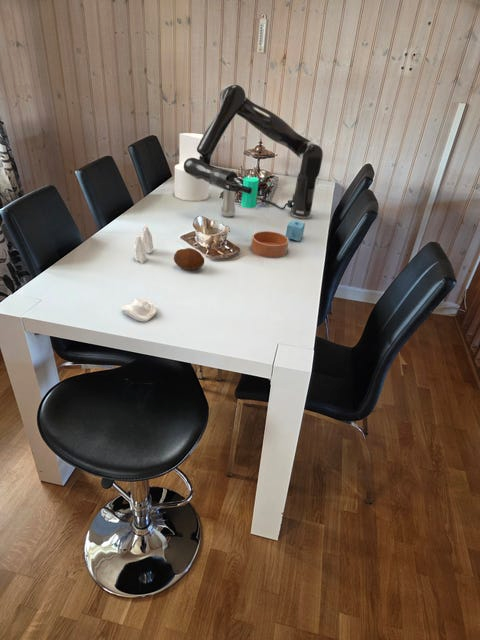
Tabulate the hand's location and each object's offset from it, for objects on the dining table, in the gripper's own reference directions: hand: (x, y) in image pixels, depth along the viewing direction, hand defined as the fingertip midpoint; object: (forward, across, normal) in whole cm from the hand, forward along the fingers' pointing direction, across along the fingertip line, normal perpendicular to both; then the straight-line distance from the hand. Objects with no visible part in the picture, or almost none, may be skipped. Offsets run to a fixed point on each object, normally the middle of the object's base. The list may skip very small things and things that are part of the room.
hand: (255, 189), depth 166 cm
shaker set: (-15, -42, +22) cm, 49 cm away
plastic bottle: (-26, +15, +22) cm, 37 cm away
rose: (+15, -66, +21) cm, 71 cm away
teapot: (+9, +17, +22) cm, 29 cm away
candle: (-3, 0, +7) cm, 8 cm away
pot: (+10, 0, +21) cm, 24 cm away
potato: (+2, -36, +21) cm, 42 cm away
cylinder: (-57, +20, +22) cm, 65 cm away
